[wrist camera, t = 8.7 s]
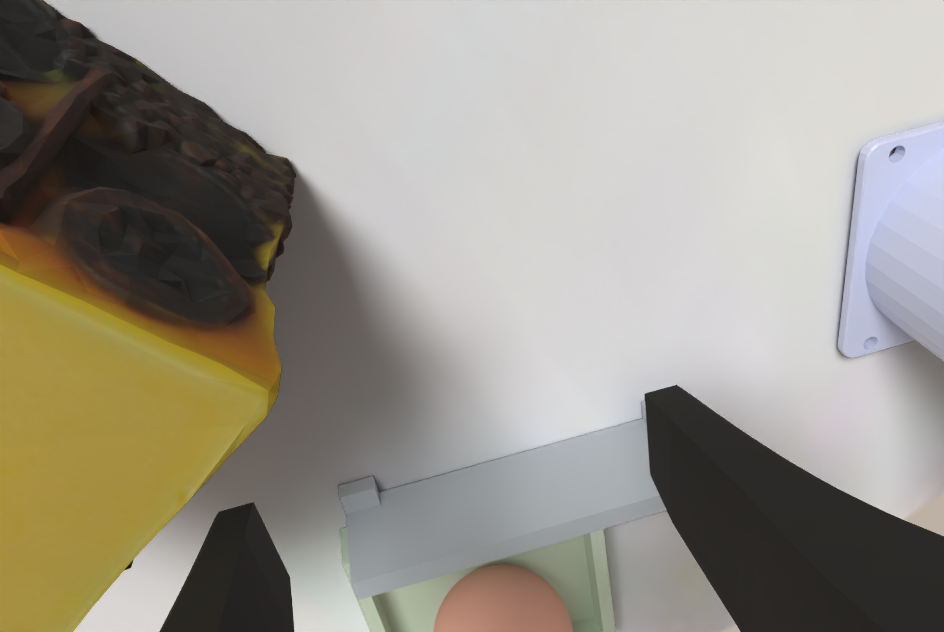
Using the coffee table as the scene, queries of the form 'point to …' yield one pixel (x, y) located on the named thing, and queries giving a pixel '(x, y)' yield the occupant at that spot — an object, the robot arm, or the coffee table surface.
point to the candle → (119, 308)
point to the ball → (502, 603)
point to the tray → (561, 564)
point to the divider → (497, 508)
